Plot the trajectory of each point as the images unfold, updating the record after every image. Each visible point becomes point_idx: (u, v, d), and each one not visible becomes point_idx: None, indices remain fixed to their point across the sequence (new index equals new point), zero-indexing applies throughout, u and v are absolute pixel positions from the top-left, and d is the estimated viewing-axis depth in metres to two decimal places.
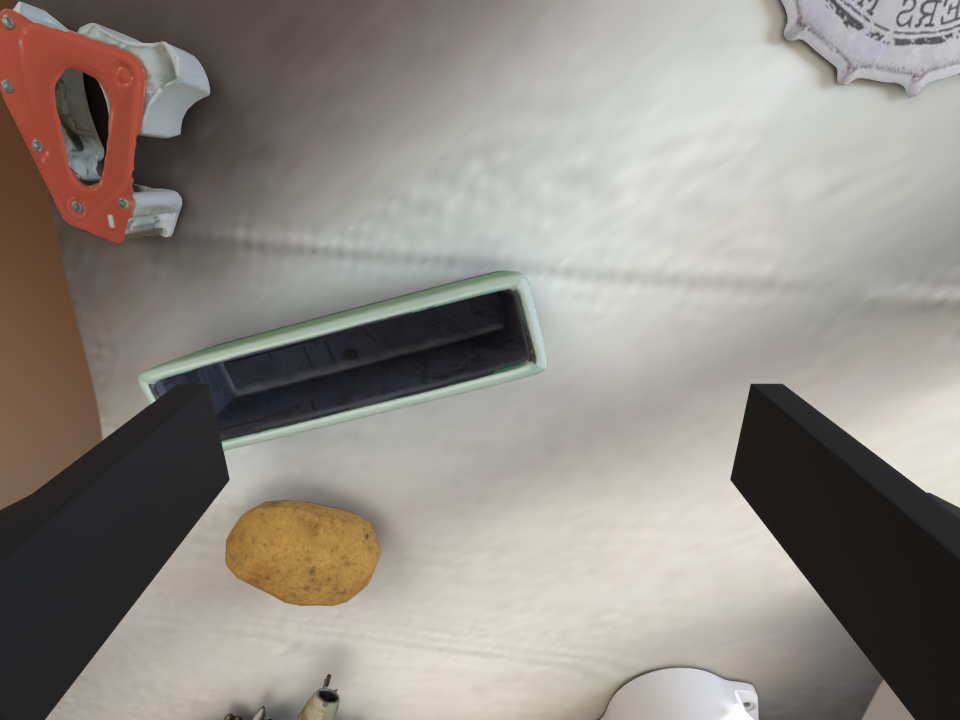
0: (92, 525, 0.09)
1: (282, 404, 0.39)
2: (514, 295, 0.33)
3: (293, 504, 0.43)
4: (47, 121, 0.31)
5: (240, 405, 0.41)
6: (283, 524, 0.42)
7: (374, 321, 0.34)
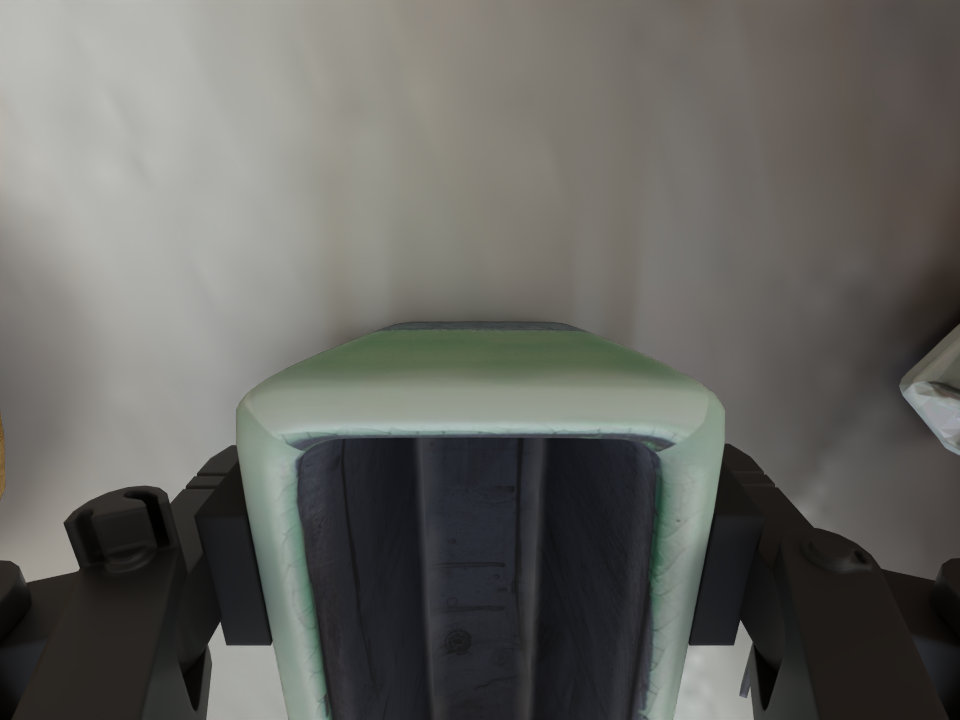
0: None
1: (387, 610, 0.12)
2: None
3: None
4: None
5: None
6: None
7: None
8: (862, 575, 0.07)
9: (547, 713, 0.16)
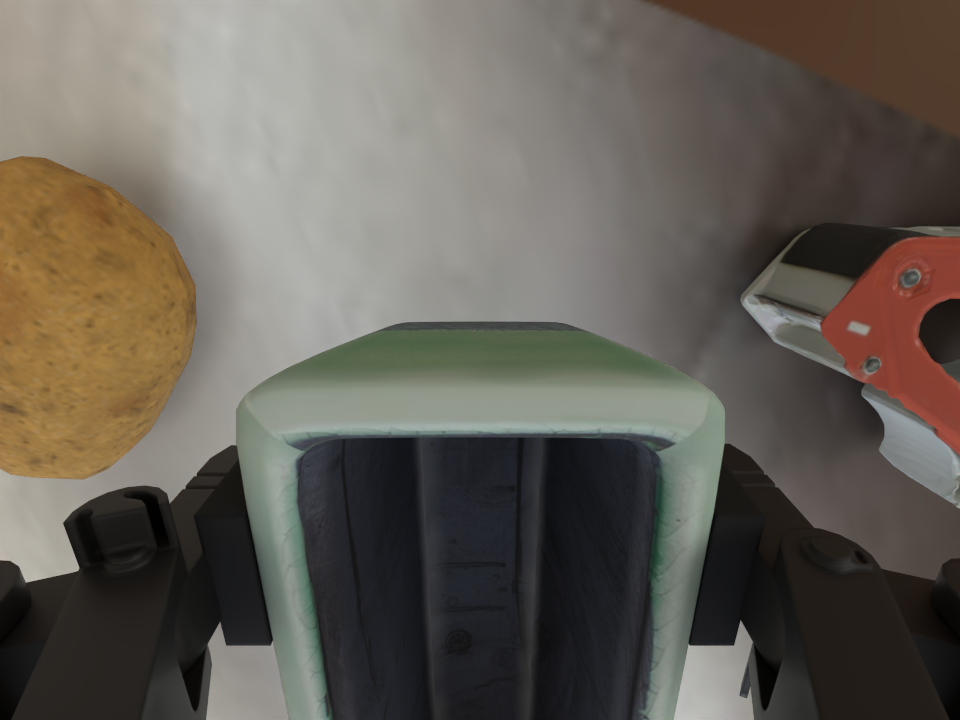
0: None
1: (387, 610, 0.12)
2: None
3: (187, 348, 0.20)
4: None
5: None
6: (143, 356, 0.18)
7: None
8: (862, 575, 0.07)
9: (548, 713, 0.16)
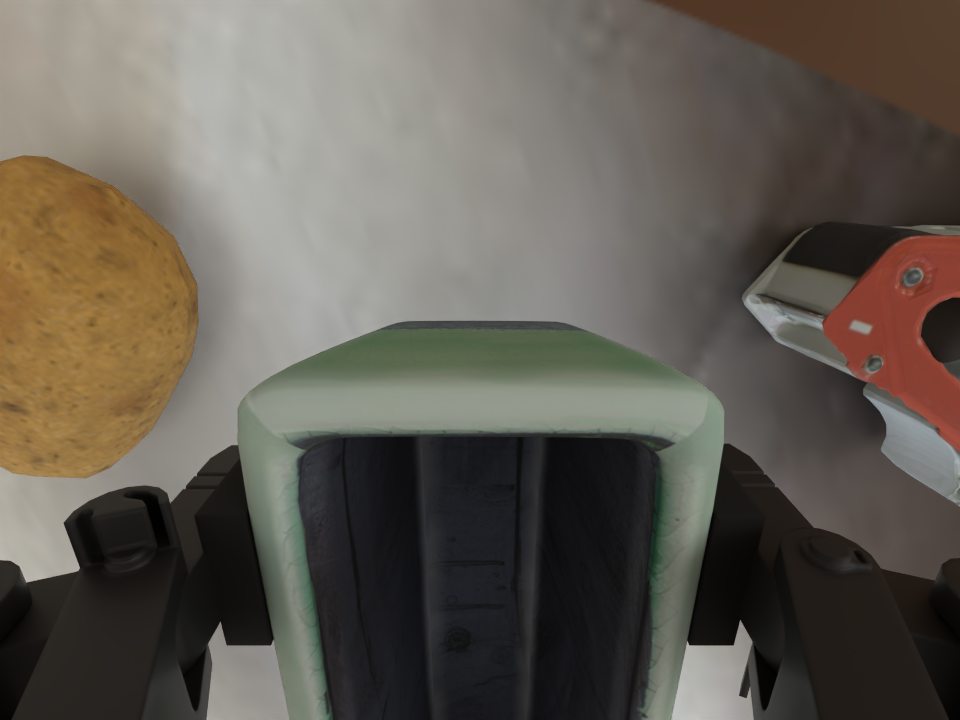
0: None
1: (387, 608, 0.13)
2: None
3: (188, 347, 0.20)
4: None
5: None
6: (145, 356, 0.18)
7: None
8: (861, 575, 0.07)
9: (546, 711, 0.16)
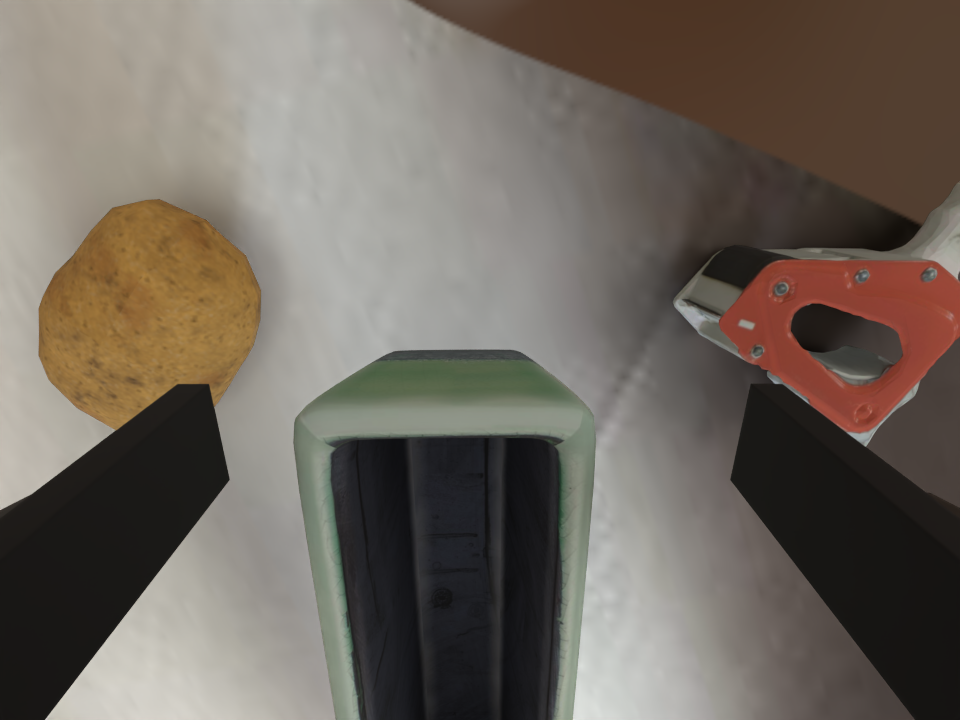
0: (92, 525, 0.09)
1: (386, 564, 0.17)
2: None
3: (253, 337, 0.27)
4: (876, 306, 0.25)
5: None
6: (226, 343, 0.25)
7: None
8: None
9: (511, 649, 0.21)
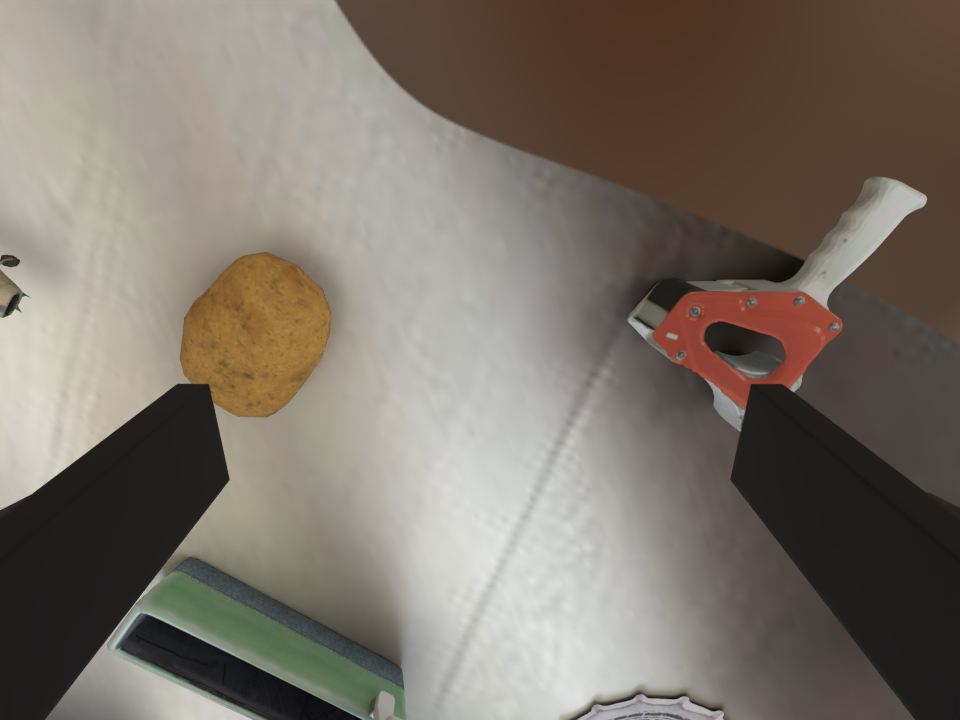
0: (92, 525, 0.09)
1: (204, 648, 0.48)
2: None
3: None
4: (763, 323, 0.35)
5: None
6: (309, 350, 0.36)
7: (312, 694, 0.46)
8: None
9: None
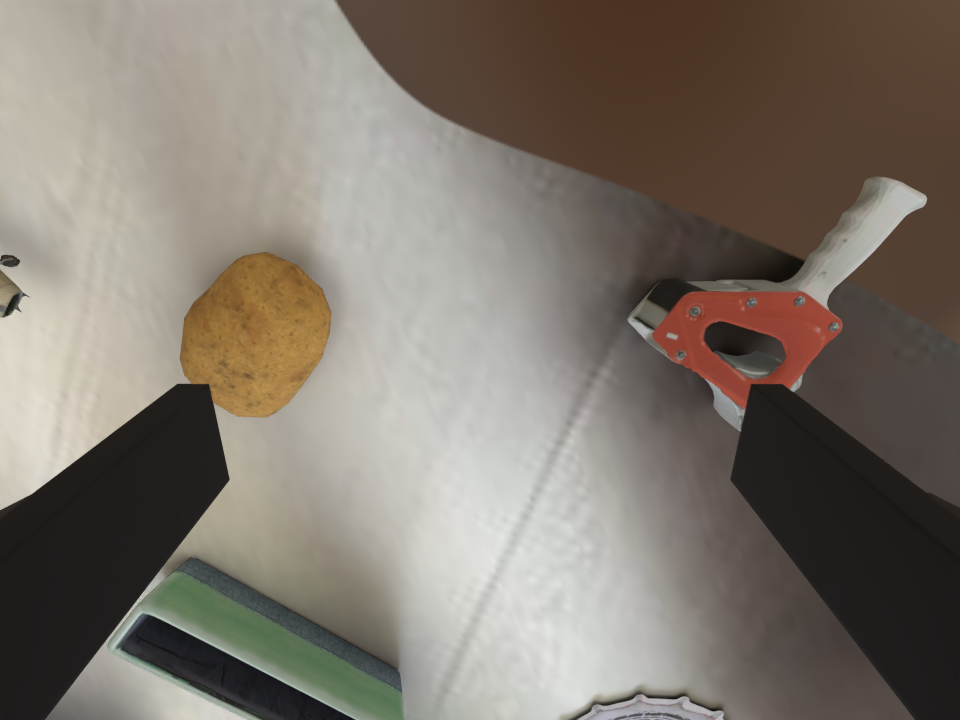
0: (92, 525, 0.09)
1: (203, 649, 0.48)
2: None
3: None
4: (763, 323, 0.35)
5: None
6: (309, 350, 0.36)
7: (312, 697, 0.46)
8: None
9: None
